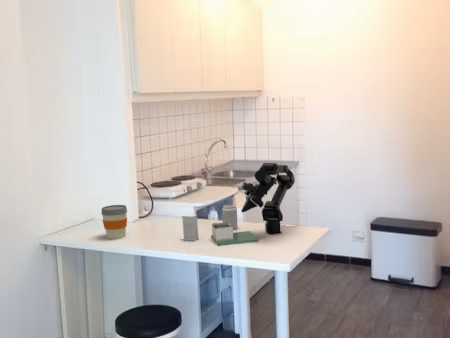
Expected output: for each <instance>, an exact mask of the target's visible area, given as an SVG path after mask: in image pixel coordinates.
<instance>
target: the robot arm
mask: <svg viewBox="0 0 450 338" xmlns="http://www.w3.org/2000/svg"><path fill="white" fill-rule="evenodd" d="M254 179H255V180H256V181H257V182H258V183H255V185H254V183H251V182H249V183H248V182H245V181H243V183H242V185H241V189H242V190H244V192H243V194H244V195H245V203H244V205H243V206H242V208H241V211H240V212H241V213H245V212H247V211H250V210H252V209H255V208H257V207H259V208H262V207H263V208H262V209H261V216H262V220H263V221H264V222H265V224H264V229H265V231H264V232H265V233H266V234H267V235H278V234H282V231H281V222H282V221H283V218H284V215H283V213H282V211H281V204H282V202H283V200H284V198H285V195H286V193H287V191H288V190H290V189H291V188H292V187H294V185H295V183H296V182H295V181H296V179H295V175H294V173H293V171H292V170H290V169H289V165H287V164H278V163H276V162H263V163H262V165H261V166H260V167H259V169H258V170H256V172H255V173H254ZM274 185H277V187H276V189H275V192H274V194H273V195H272V198H271V200H267V201H266V202H265V203H264V202H263V198H264V197H265V196H267V195H268V192H269V191H270V190H271V189H272V188H273V187H274ZM292 189H293V188H292Z"/></svg>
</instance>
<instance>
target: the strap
mask: <svg viewBox="0 0 450 338" xmlns="http://www.w3.org/2000/svg"><path fill="white" fill-rule="evenodd" d="M212 224H213V226H228V223H223V222H217V223H215V222H212Z"/></svg>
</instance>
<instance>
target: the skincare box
mask: <svg viewBox="0 0 450 338" xmlns="http://www.w3.org/2000/svg"><path fill="white" fill-rule="evenodd" d="M181 217H182V218H181V219H182V229H183V241H185V242H187V241H189V242H191V241H192V242H196V241H197V240H199V229H198V228H199V227H198V214H194V213H193V214H190V213H188V214H187V213H185V214H183V215H182V216H181Z"/></svg>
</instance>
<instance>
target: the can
mask: <svg viewBox="0 0 450 338" xmlns="http://www.w3.org/2000/svg"><path fill="white" fill-rule="evenodd" d="M221 214H222V215H221V216H222V223H229V224H230V225H231V226H232V227H233V231H235V230H236V229H237V228H238V227H239V226H238V208H237V207H236V205H235V204H224V205H223V206H222V208H221Z"/></svg>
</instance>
